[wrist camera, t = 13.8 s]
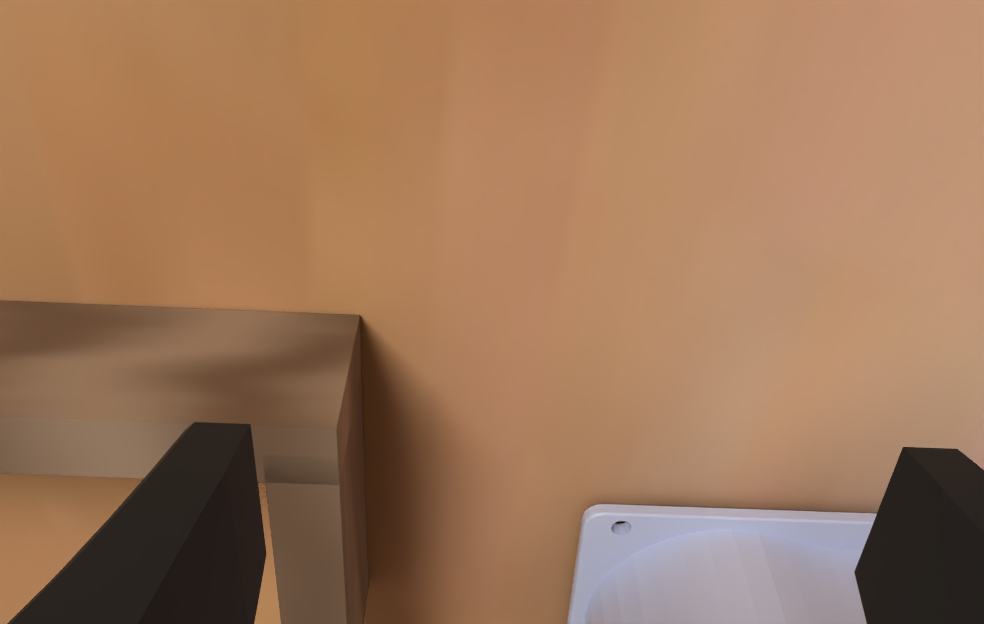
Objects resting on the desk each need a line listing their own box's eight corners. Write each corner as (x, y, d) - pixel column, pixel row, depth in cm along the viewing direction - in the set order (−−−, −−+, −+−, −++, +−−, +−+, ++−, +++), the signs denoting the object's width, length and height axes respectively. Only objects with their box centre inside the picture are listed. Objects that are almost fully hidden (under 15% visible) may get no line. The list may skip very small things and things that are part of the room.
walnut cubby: (359, 315, 22) (336, 429, 18) (368, 584, 27) (351, 712, 24) (-375, 285, 21) (-535, 397, 18) (-224, 565, 26) (-326, 693, 23)
